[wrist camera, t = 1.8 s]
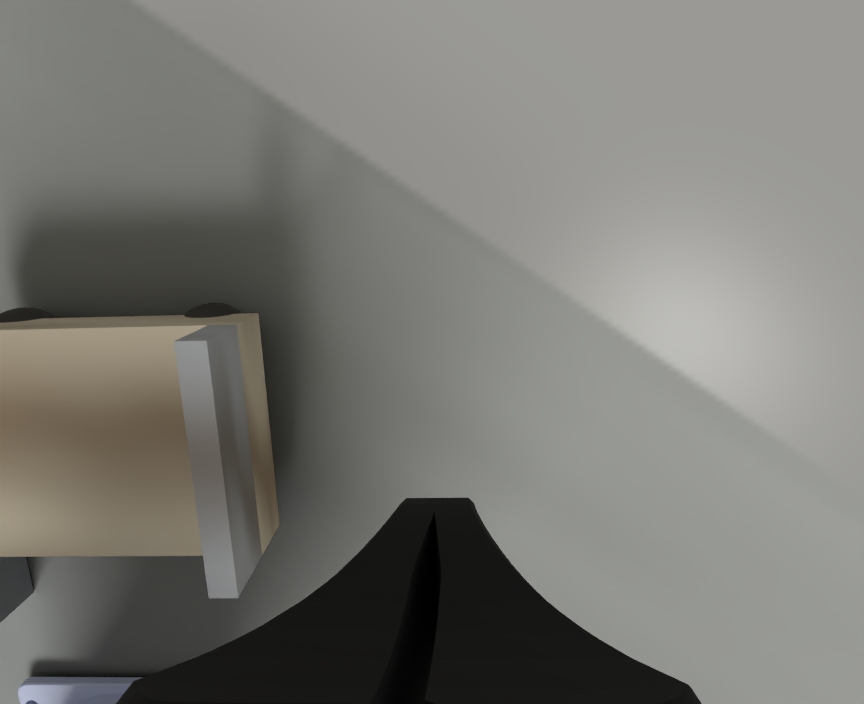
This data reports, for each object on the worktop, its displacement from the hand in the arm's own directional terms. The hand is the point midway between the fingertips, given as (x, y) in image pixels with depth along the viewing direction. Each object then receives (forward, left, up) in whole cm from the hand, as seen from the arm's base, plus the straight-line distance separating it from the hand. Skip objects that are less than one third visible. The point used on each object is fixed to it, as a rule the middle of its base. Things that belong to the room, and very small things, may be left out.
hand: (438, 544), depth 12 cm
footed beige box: (0, +10, -8) cm, 13 cm away
